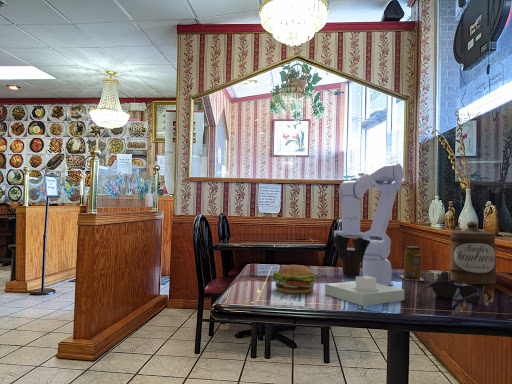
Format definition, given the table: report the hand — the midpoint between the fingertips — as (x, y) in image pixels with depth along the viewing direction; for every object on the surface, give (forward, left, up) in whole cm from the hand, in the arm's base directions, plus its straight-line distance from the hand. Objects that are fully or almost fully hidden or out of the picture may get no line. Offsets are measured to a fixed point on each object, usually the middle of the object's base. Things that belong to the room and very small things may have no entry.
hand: (350, 260), depth 126 cm
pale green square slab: (+3, +9, -9) cm, 13 cm away
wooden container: (-54, +6, -10) cm, 55 cm away
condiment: (-37, -7, -10) cm, 39 cm away
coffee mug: (-20, -23, -10) cm, 32 cm away
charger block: (+5, +12, -10) cm, 16 cm away
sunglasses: (-14, +25, -10) cm, 30 cm away
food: (+16, -8, -10) cm, 20 cm away
